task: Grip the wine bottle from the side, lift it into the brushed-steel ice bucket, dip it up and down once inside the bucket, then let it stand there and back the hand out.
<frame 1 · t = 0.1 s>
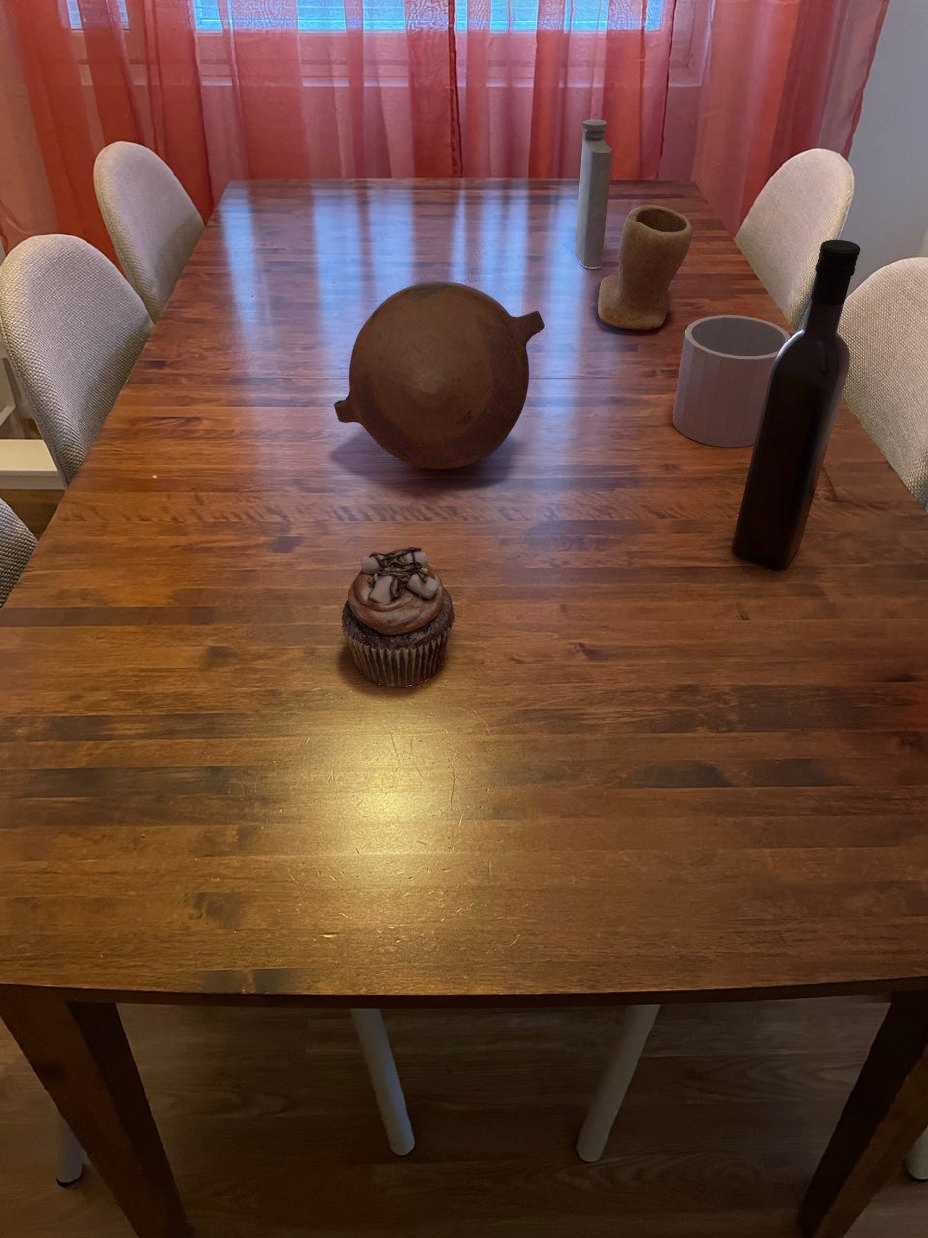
jug: (447, 431, 113), on the table
wine bottle: (764, 551, 95), on the table
brown boot vase: (637, 316, 139), on the table
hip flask: (586, 253, 159), on the table
ice bucket: (721, 422, 114), on the table
cupcake: (400, 658, 83), on the table
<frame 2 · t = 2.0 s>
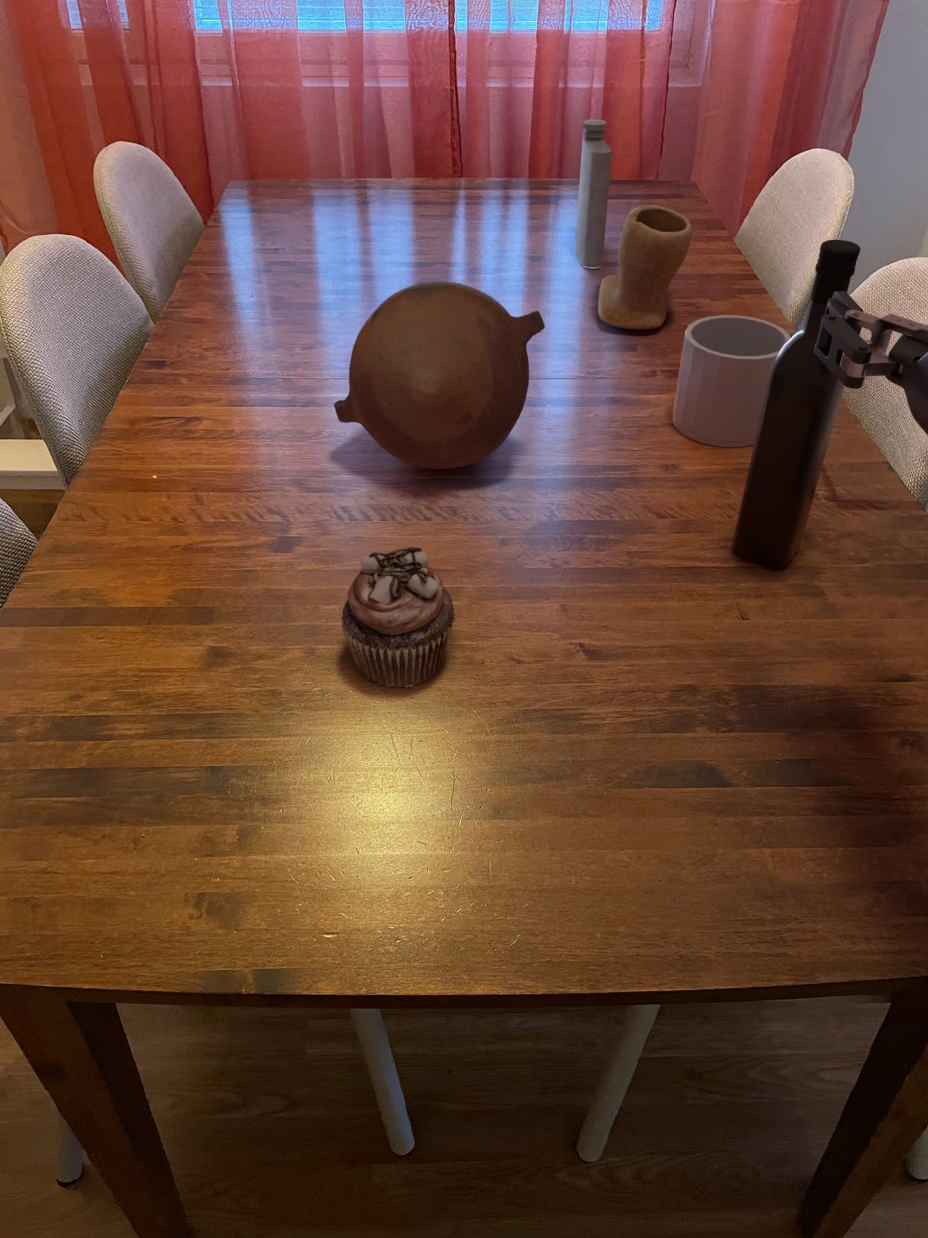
hand: (894, 303, 67), 30 cm above the table, tool horizontal, fingers open, 8 cm apart
nothing on the table moved.
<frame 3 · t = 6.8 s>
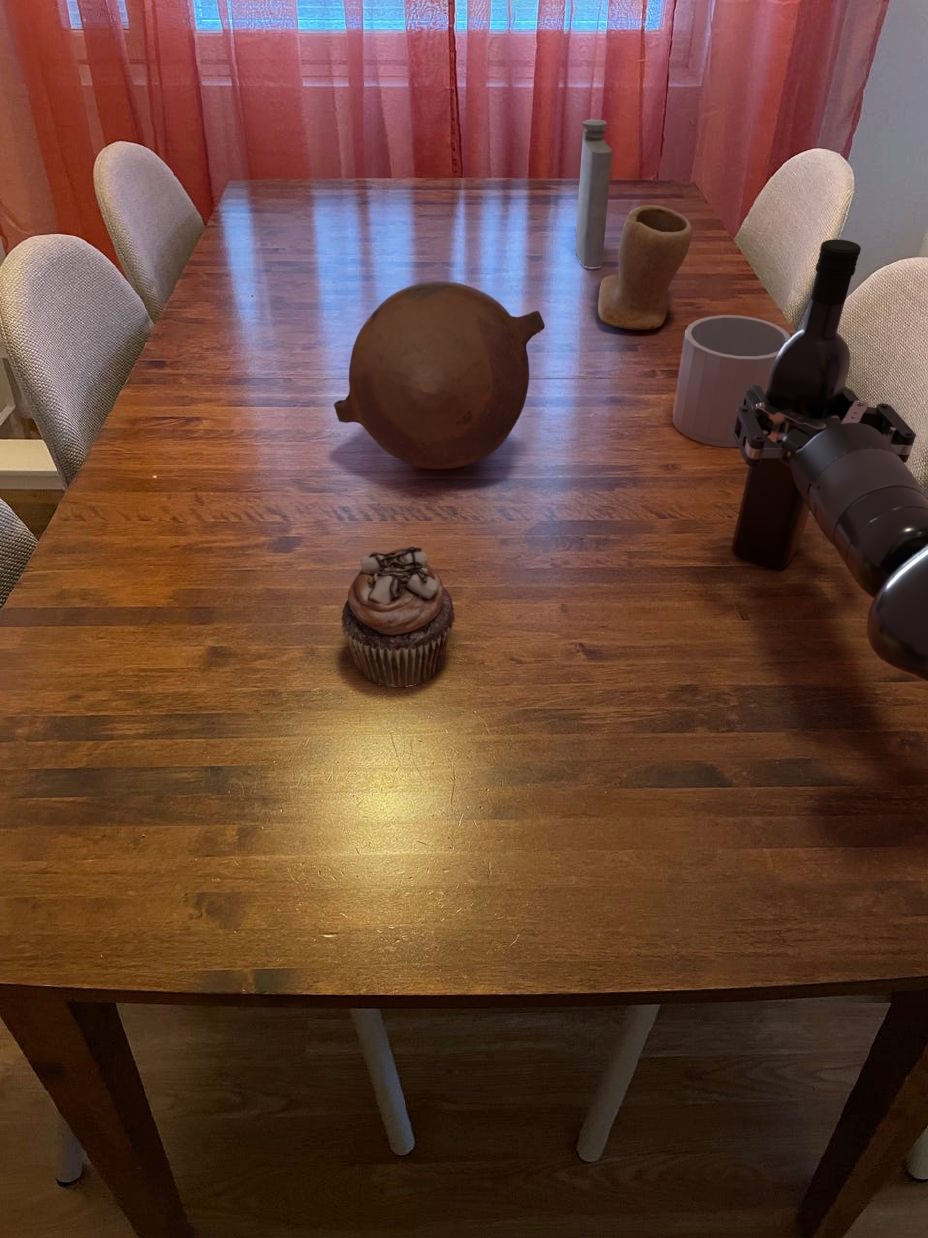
hand: (793, 393, 86), 16 cm above the table, tool horizontal, fingers closed on wine bottle, 7 cm apart
wine bottle: (764, 551, 95), on the table, touching gripper
everything else where it was.
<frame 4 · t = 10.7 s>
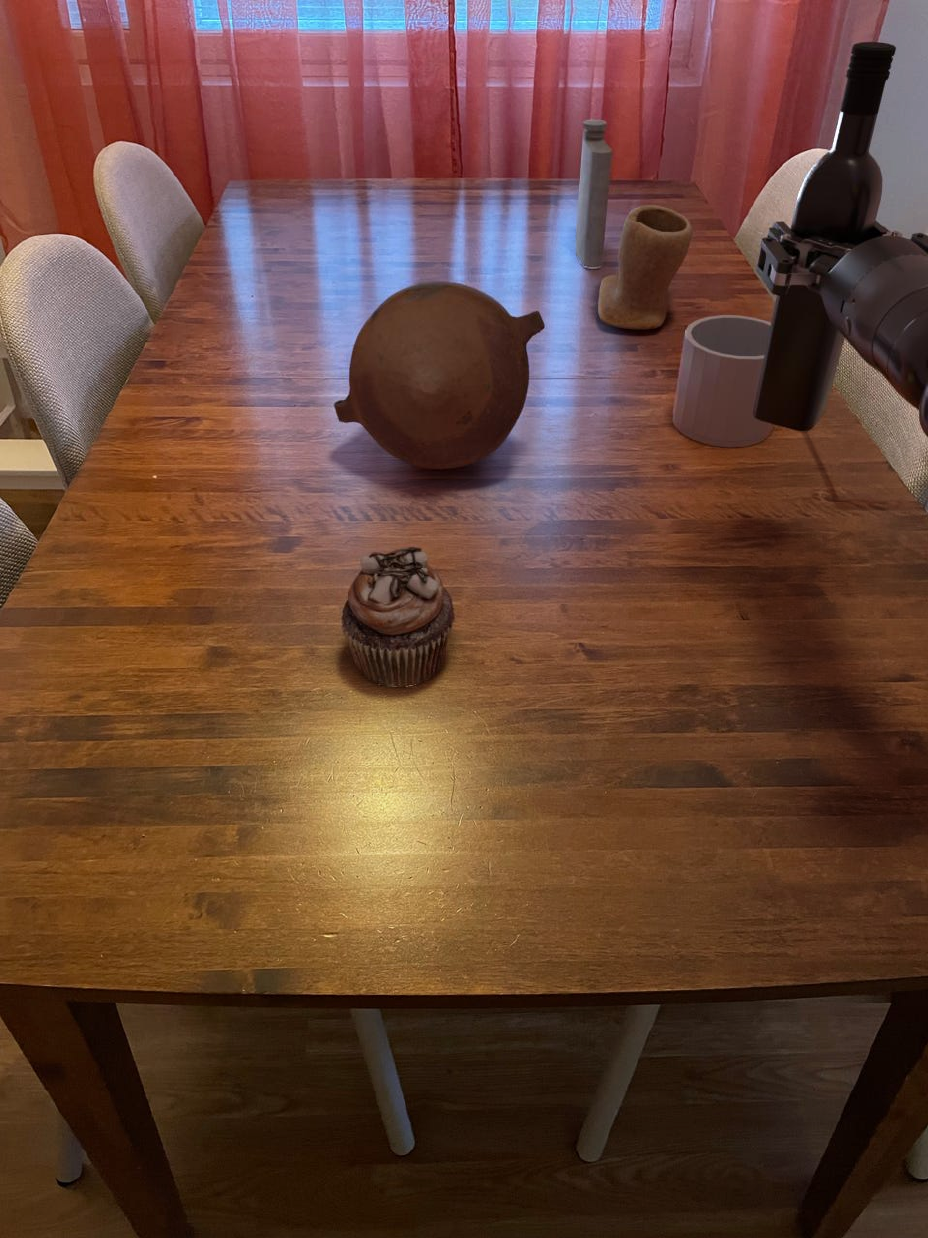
hand: (819, 232, 80), 29 cm above the table, tool horizontal, fingers closed on wine bottle, 7 cm apart
wine bottle: (787, 417, 89), point 13 cm above the table, touching gripper
everything else where it was.
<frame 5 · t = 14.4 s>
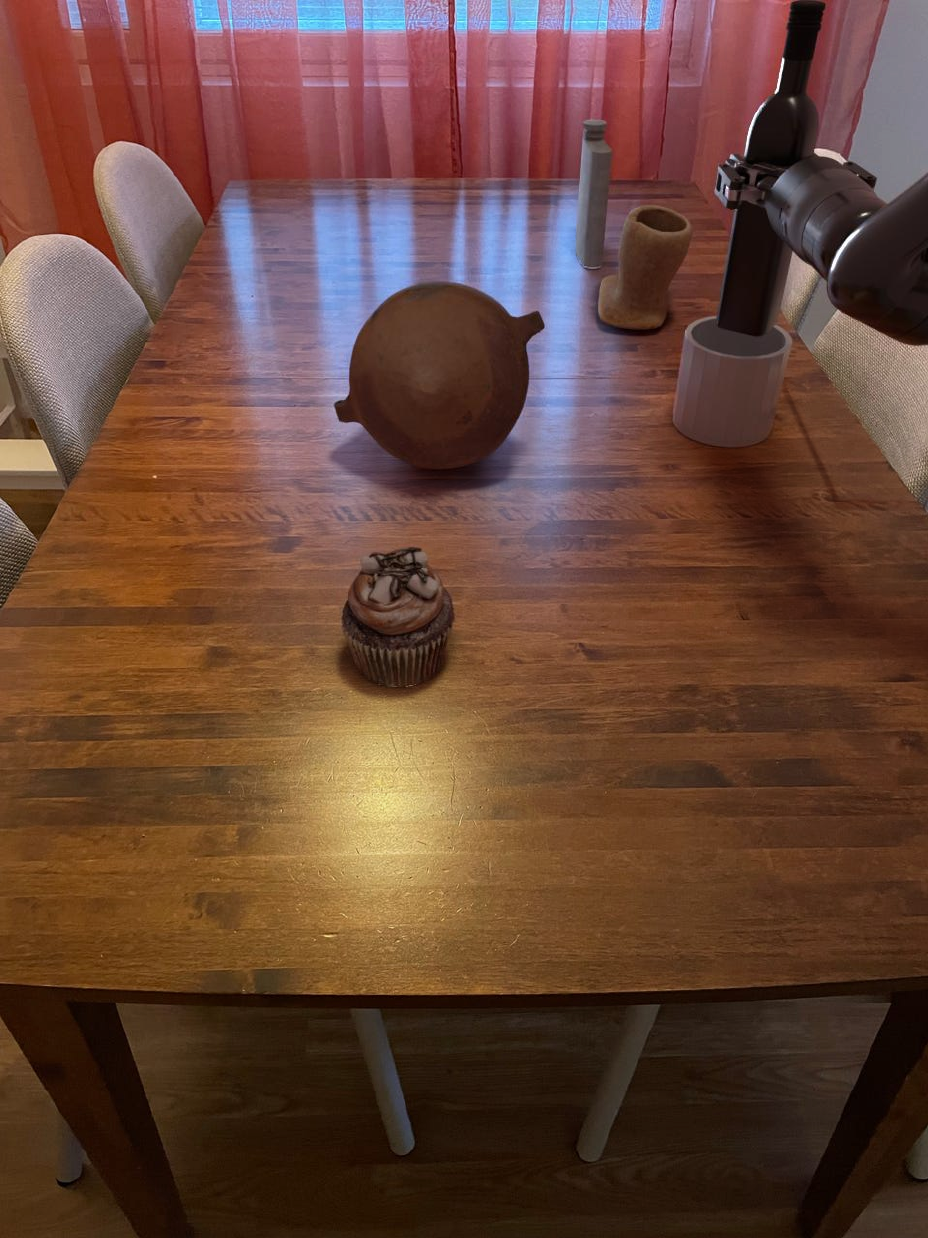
hand: (769, 163, 95), 29 cm above the table, tool horizontal, fingers closed on wine bottle, 7 cm apart
wine bottle: (745, 327, 104), point 13 cm above the table, touching gripper
everything else where it was.
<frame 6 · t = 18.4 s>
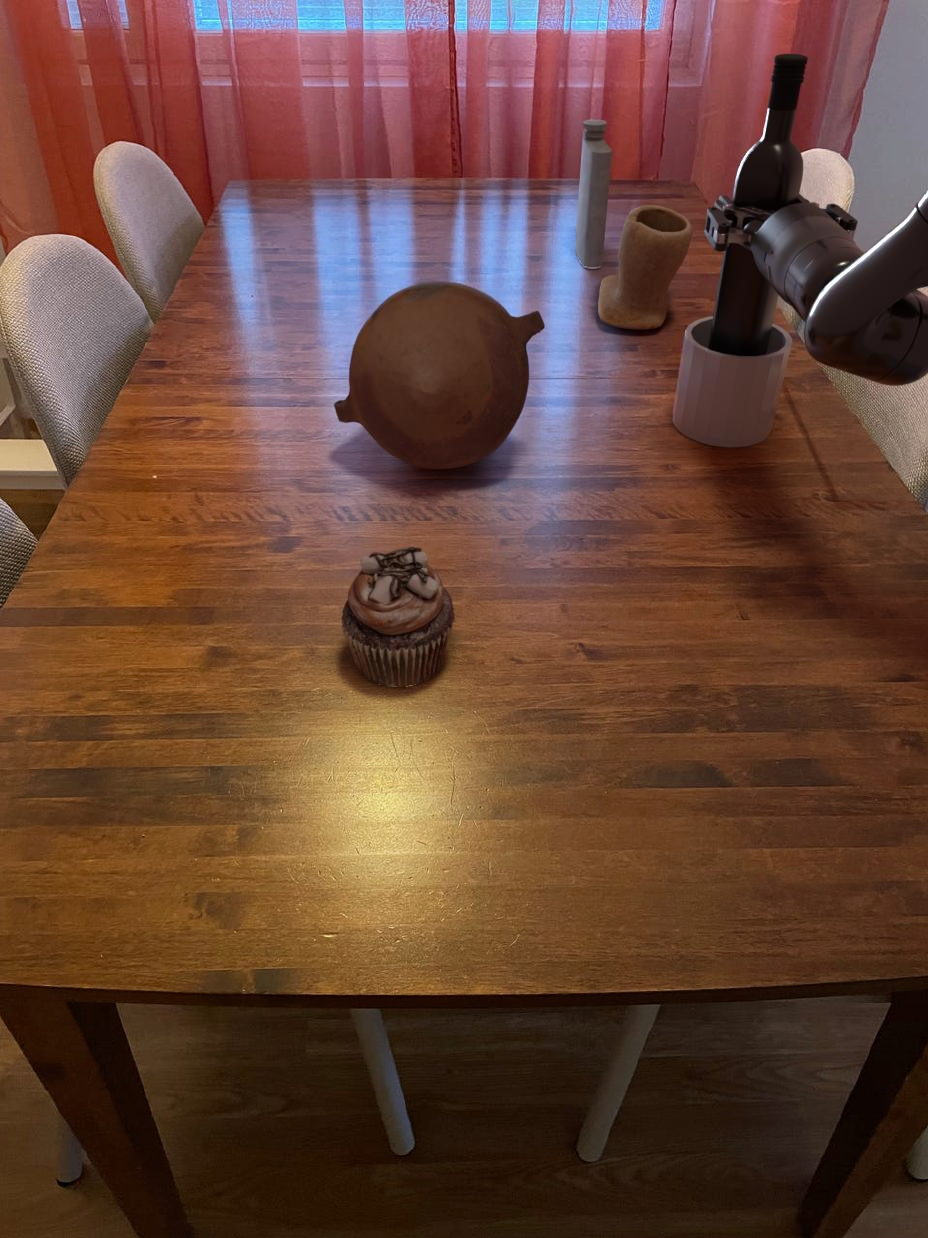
hand: (757, 204, 100), 25 cm above the table, tool horizontal, fingers closed on wine bottle, 7 cm apart
wine bottle: (736, 357, 109), point 8 cm above the table, touching gripper
everything else where it was.
when the fingers open (17 cm above the table, at t = 21.8 s): wine bottle stays where it is, resting on ice bucket.
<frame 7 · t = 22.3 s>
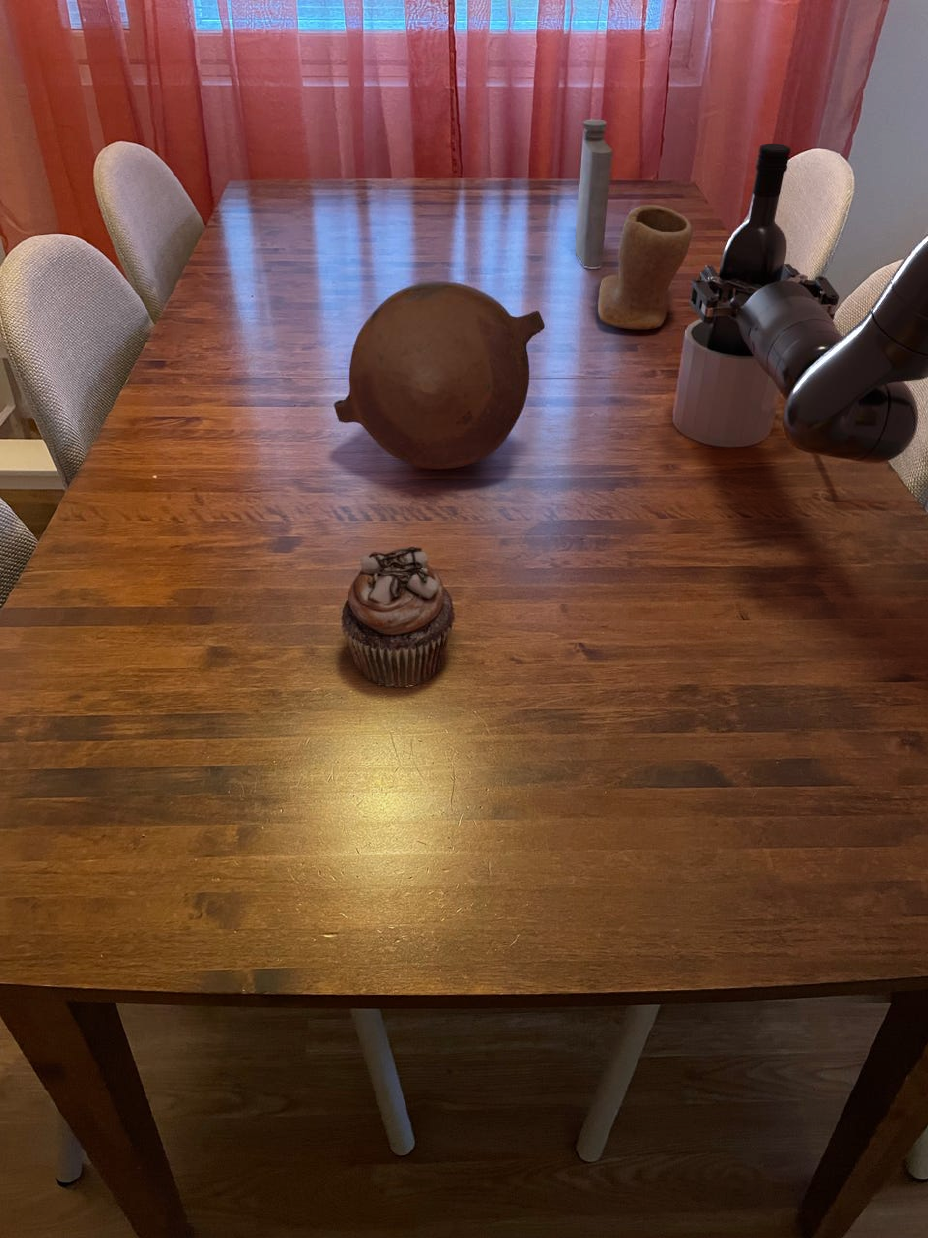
hand: (744, 273, 105), 17 cm above the table, tool horizontal, fingers open, 8 cm apart
wine bottle: (722, 418, 114), point 1 cm above the table, touching ice bucket
everything else where it was.
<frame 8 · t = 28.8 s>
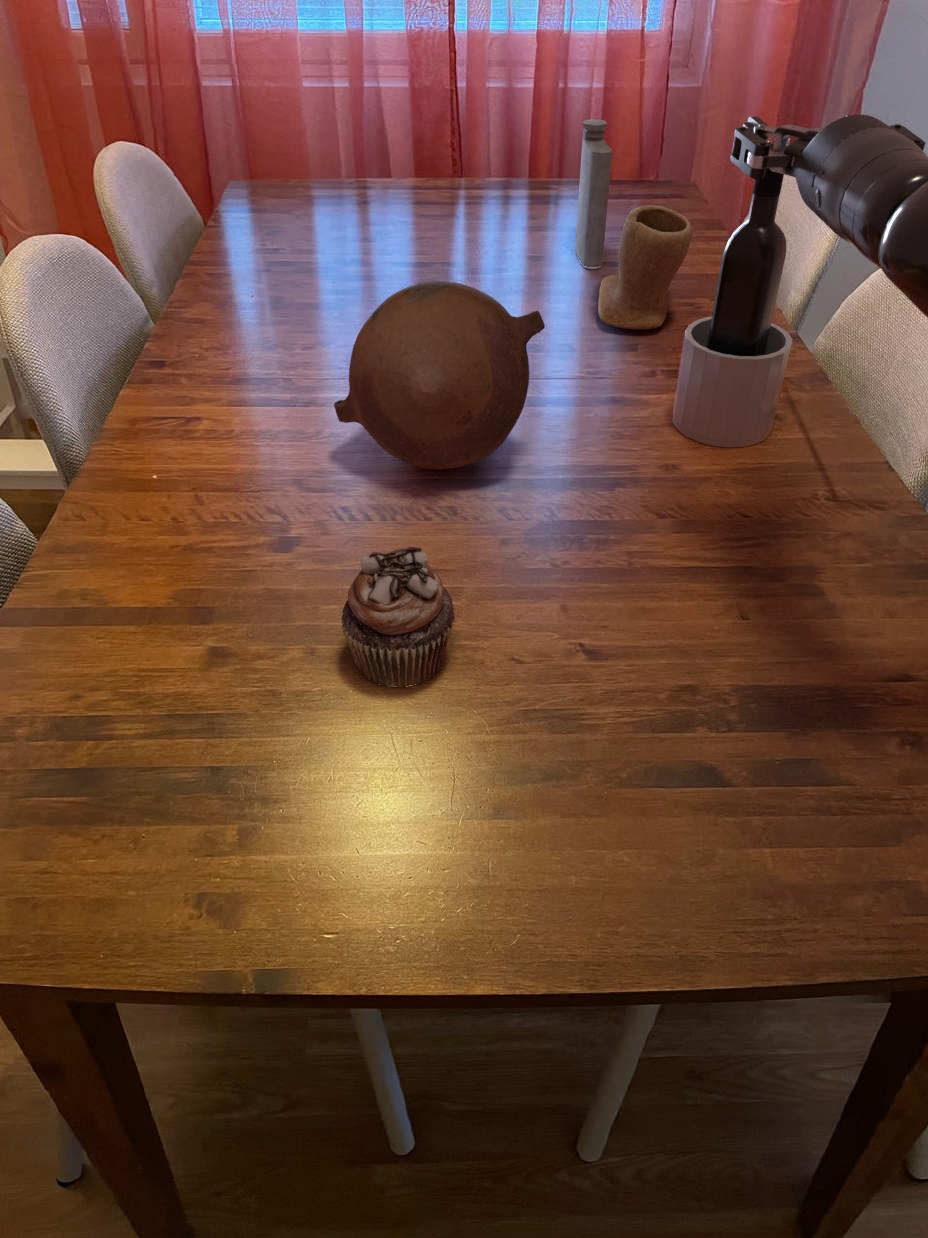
hand: (797, 128, 83), 35 cm above the table, tool horizontal, fingers open, 8 cm apart
nothing on the table moved.
at the end: wine bottle 0.2 cm off-centre in the ice bucket, point 0.6 cm above the ice bucket's base; wine bottle tilted 0°; the gripper is holding nothing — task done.
